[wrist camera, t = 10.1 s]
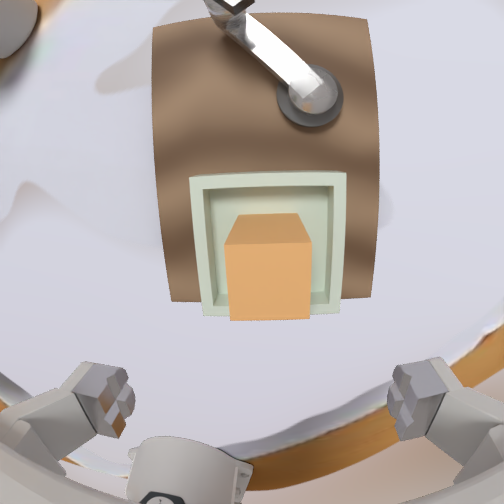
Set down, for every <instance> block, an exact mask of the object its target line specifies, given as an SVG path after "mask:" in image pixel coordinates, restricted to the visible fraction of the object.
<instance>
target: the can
mask: <svg viewBox="0 0 504 504" xmlns="http://www.w3.org/2000/svg"><path fill="white" fill-rule="evenodd" d="M37 12H38V5H37V3H36V1H34V0H0V59H1V58H6V57H8V56H10V55H11V54H13V53H14V52H15V51H16V50H18V49H19V48H20V47H21V46H22V45H23V44H24V42H25V41H26V40H27V39H28V37H29V36H30V34H31V32H32V30H33V28H34V26H35V23H36V20H37Z"/></svg>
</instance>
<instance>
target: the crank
mask: <svg viewBox="0 0 504 504" xmlns="http://www.w3.org/2000/svg"><path fill="white" fill-rule="evenodd" d="M204 2H205V4H206V7H207V9H208V11H209V13H210V15H211V18H212V20H213V22H214V24H215V25H216V26H217V27H218V28H219V29H220V30H221V31H223V32H224V33H225V34H227V35H228V36H229V37H230V38H231V39H233V40H234V41H235V42H236V43H238V44H239V45H240V46H241V47H242V48H244V49H245V50H246V51H247V52H248V53H249V54H251V55H252V56H253V57H254V58H255V59H256V60H257V61H259V62H260V63H261V64H262V65H263V66H264V67H265V68H266V69H267V70H269V71H270V72H271V73H272V74H273V75H274V76H275V77H276V78H277V79H278V80H279V81H280V82H281V83H282V84H283V85H284V86H285V87H286V88H288V98H289V101H290V103H291V104H292V106H293V107H294V108H295V109H296V110H298V111H299V112H301V113H303V114H306V115H320V114H322V113H324V112H326V111H327V110H328V109H330V108H331V107H332V106H333V105H334V104H335V102H336V100H337V96H338V89H337V85H336V83H335V81H334V80H333V78H332V77H331V76H330V75H329V74H328V73H326V72H324V71H322V70H320V69H316V68H310V67H309V66H308V65H307V64H306V63H305V62H304V61H303V60H301V59H300V58H299V57H298V56H297V55H296V54H295V53H294V52H293V51H292V50H291V49H289V48H288V47H287V46H286V45H285V44H284V43H283V42H282V41H280V40H279V39H278V38H277V37H276V36H274V35H273V34H272V33H271V32H270V31H268V30H267V29H266V28H265V27H264V26H262V25H261V24H260V23H259V22H257V21H256V20H255V19H253V18H252V17H251V16H250V15H248V14H247V13H246V8H247V7H249V6H250V5H252V4H253V3H254V2H255V1H254V0H204Z"/></svg>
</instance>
